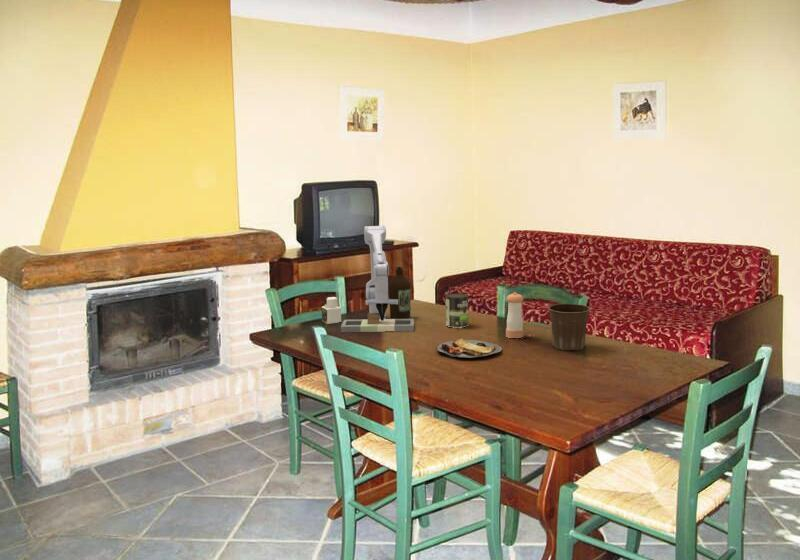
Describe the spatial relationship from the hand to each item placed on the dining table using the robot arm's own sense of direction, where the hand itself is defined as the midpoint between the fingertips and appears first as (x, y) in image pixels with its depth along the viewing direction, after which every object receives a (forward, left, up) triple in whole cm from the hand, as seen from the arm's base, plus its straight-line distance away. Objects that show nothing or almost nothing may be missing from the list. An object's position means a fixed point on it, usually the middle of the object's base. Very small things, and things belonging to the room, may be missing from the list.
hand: (382, 320), depth 338 cm
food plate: (+43, +36, -4) cm, 56 cm away
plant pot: (+38, +76, -4) cm, 85 cm away
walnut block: (0, -4, -1) cm, 4 cm away
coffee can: (-2, +34, -4) cm, 34 cm away
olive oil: (-19, +8, -4) cm, 21 cm away
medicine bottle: (-14, -24, -4) cm, 28 cm away
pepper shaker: (+20, +57, -4) cm, 60 cm away
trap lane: (0, -2, -4) cm, 4 cm away
